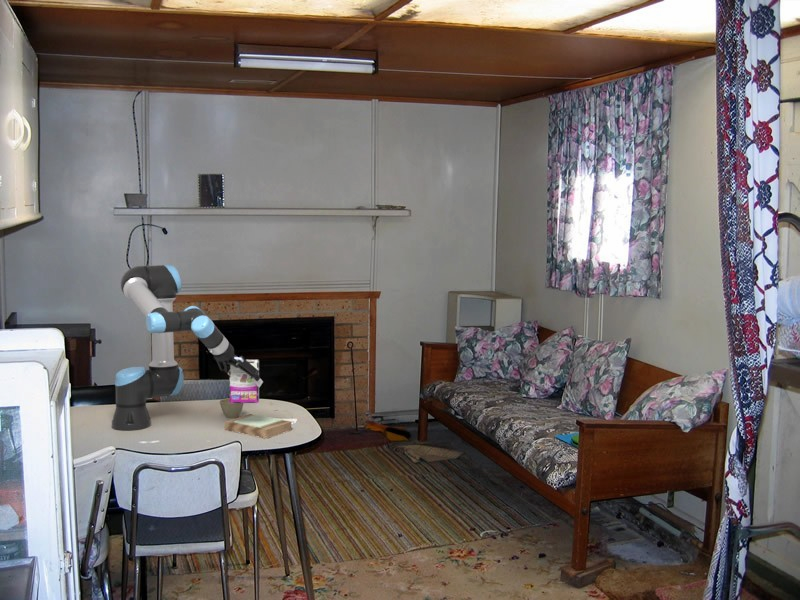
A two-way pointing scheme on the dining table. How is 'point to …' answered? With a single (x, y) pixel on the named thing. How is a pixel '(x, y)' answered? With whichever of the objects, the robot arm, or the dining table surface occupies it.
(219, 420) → the dining table surface
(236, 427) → the brown flat block
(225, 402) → the flower pot
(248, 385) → the candy bar box
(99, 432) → the dining table surface
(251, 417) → the mat
